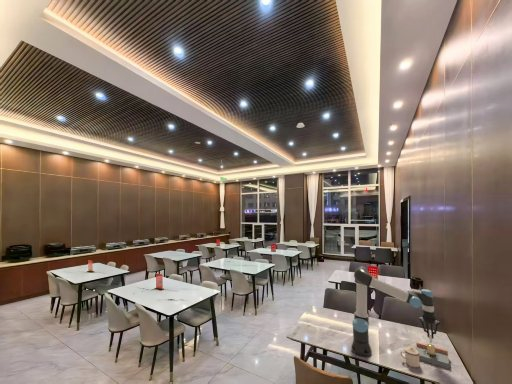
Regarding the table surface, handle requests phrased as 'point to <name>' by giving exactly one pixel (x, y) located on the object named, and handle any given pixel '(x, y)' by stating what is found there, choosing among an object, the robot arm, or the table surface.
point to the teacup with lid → (411, 357)
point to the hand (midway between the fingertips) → (430, 342)
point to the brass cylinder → (431, 350)
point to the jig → (439, 358)
